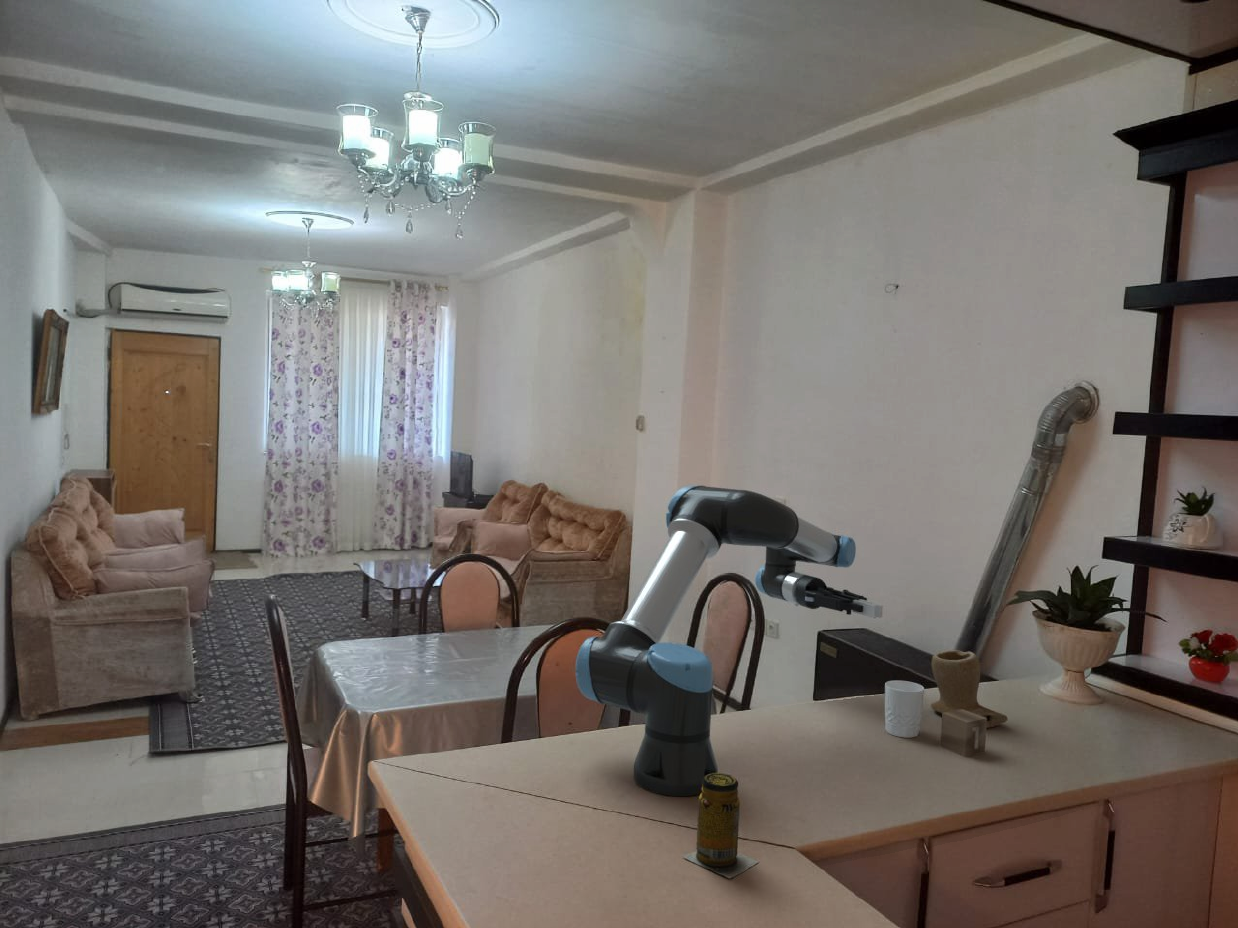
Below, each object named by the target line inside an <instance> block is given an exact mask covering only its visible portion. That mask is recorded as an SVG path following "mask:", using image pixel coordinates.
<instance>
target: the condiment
mask: <svg viewBox="0 0 1238 928" xmlns="http://www.w3.org/2000/svg"><path fill="white" fill-rule="evenodd" d="M738 786H739V781H738V780H737V778H736V777H734V776H733V775H730V774H727V773H723V772H722V773H721V772H718V773H712V774H708V775H706V776H705V777H704V778H703V781H702V793H701V794H699V796H698V805H697V824H696V827H697V829H696V847H695V848H696V849H695V850H694V851H692V852H689V853H688V854H685V855H684V856H683V859H686V860H688V861H690V862H691V863H694V864H696V865H698V866H701V867H702V868H705V869H708V870H711V872H714V873H715V874H718V875H721V876H724V877H726V878H728V879H731V878H734V877H736V876H738V875H739V874H741V873H744V872H745V871H747V870H748V869H749V868H752V867H754V866H755V865H756V864H758V863H759V861H758V860H756V859H753V858H751V857H749V856H747V855H744V854H743V853H740V852H738V845H739V844H738V843H739V824H740V803H741V802H740V798H739V796H738V795H739V790H738Z"/></svg>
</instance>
